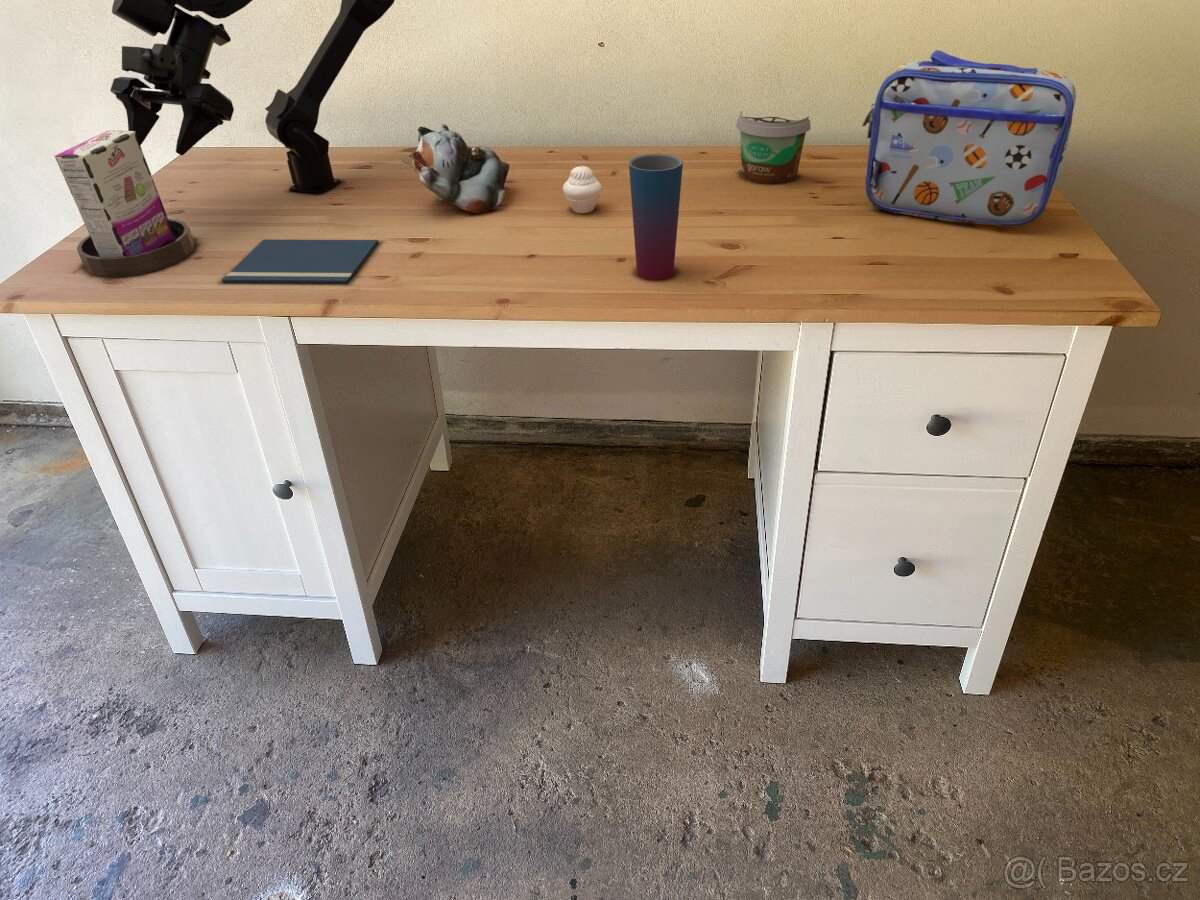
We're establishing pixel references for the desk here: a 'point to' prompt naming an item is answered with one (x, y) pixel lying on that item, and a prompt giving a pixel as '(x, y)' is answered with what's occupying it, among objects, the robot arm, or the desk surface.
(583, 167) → the muffin
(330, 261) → the notebook
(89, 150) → the candy bar box
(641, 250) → the cup
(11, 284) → the desk surface
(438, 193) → the lucky cat figurine
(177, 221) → the pan
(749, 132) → the food container
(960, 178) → the lunch box
